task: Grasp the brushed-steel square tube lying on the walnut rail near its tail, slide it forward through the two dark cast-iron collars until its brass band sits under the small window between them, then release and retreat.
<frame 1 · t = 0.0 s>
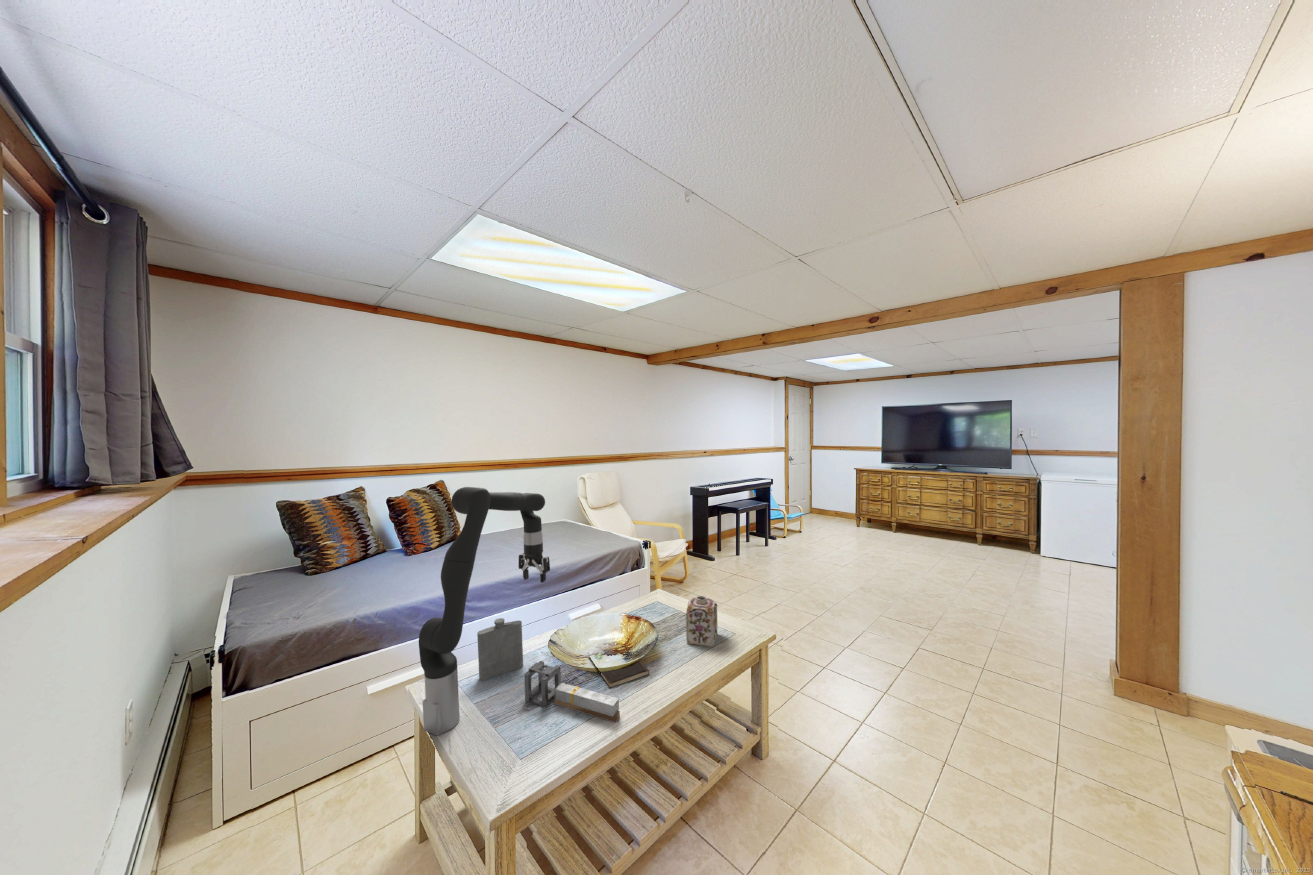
hand: (534, 580, 172), 29 cm above the table, fingers open, 8 cm apart
decorative jar: (702, 639, 180), on the table
square steel tube: (586, 704, 137), point 2 cm above the table, touching walnut rail
hardcover book: (617, 666, 162), on the table
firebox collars: (543, 697, 144), on the table
hip flask: (501, 672, 159), on the table
walnut rail: (586, 709, 137), on the table
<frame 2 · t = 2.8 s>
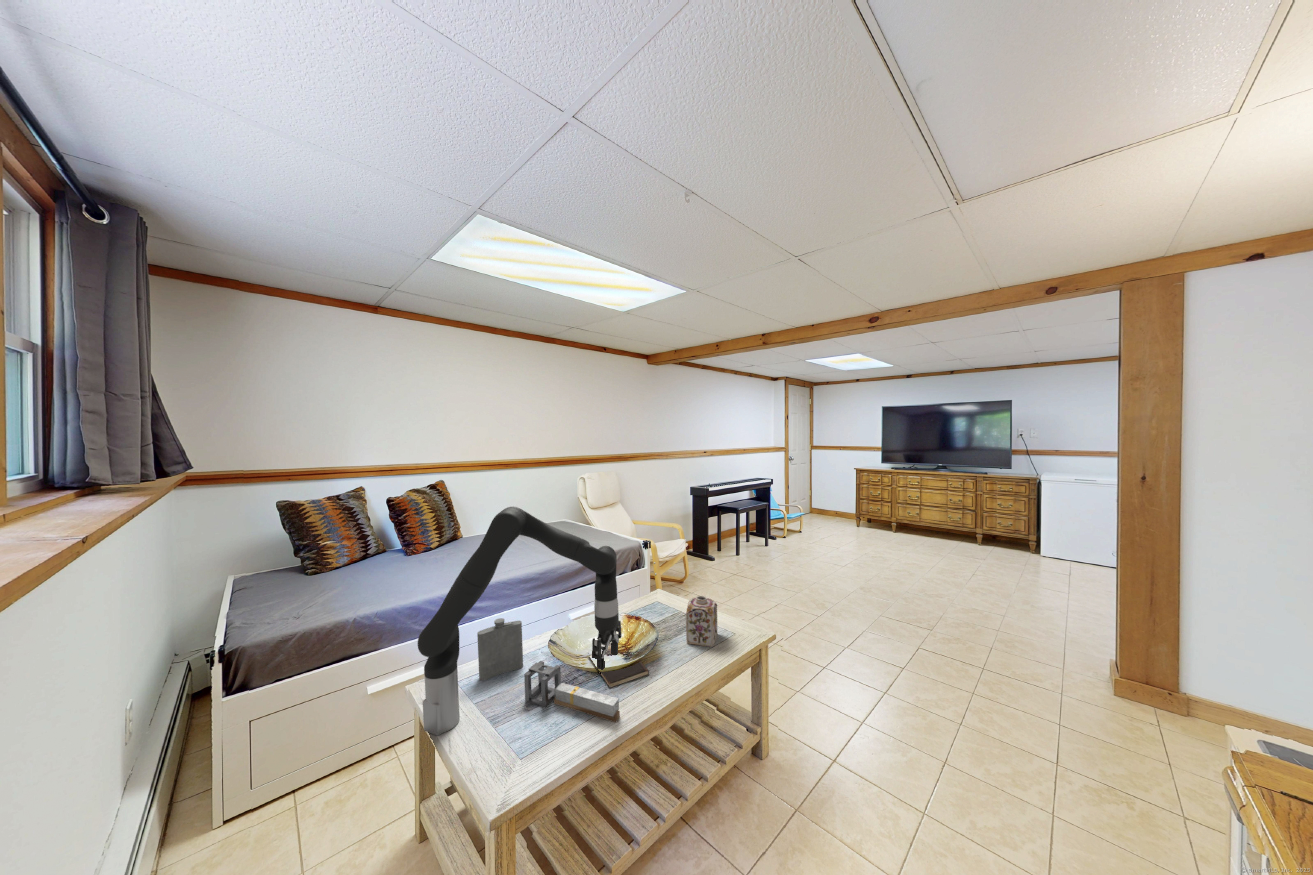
hand: (608, 661, 133), 18 cm above the table, fingers open, 8 cm apart
nothing on the table moved.
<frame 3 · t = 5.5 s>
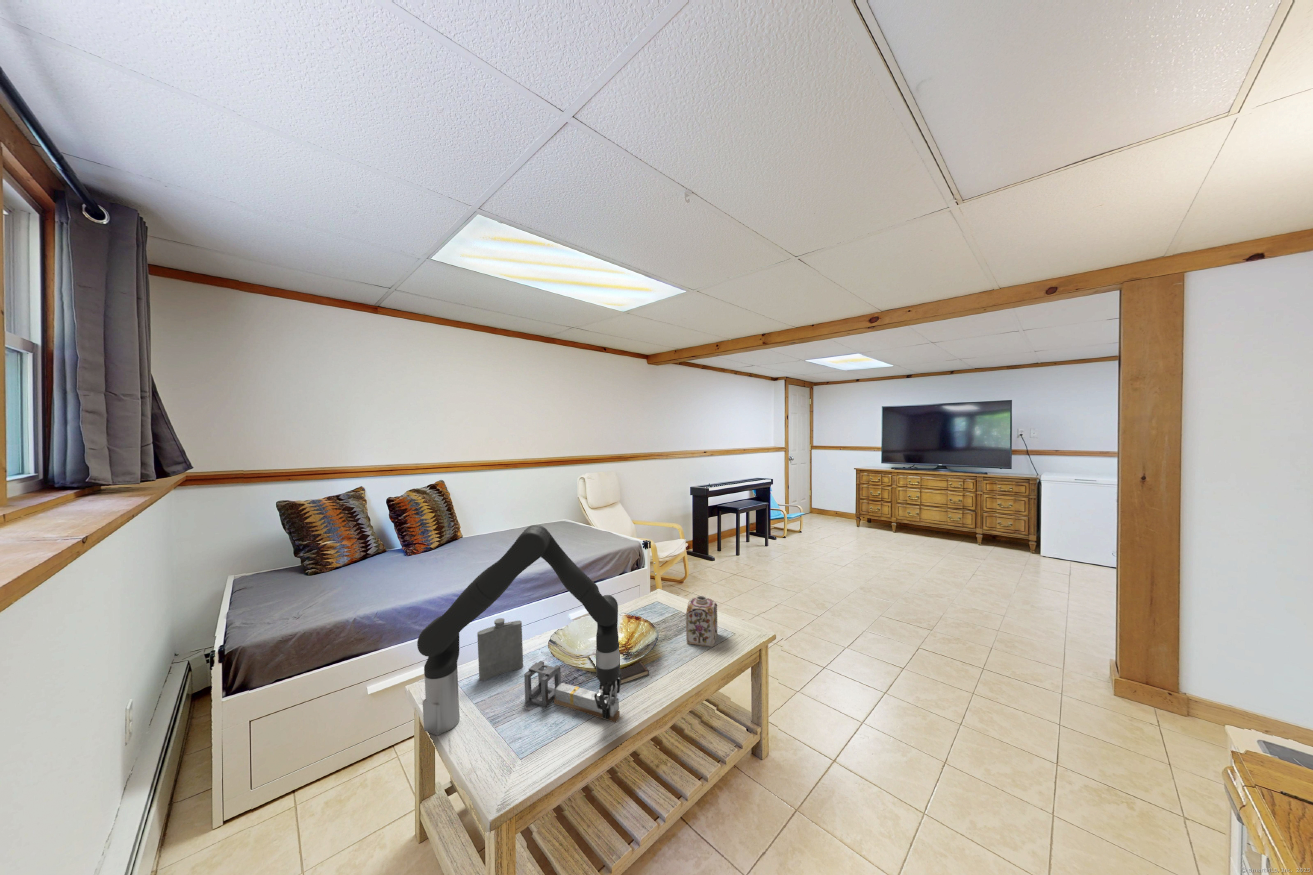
hand: (609, 713, 134), 1 cm above the table, fingers closed on square steel tube, 3 cm apart
square steel tube: (586, 704, 137), point 2 cm above the table, touching gripper, walnut rail
everything else where it was.
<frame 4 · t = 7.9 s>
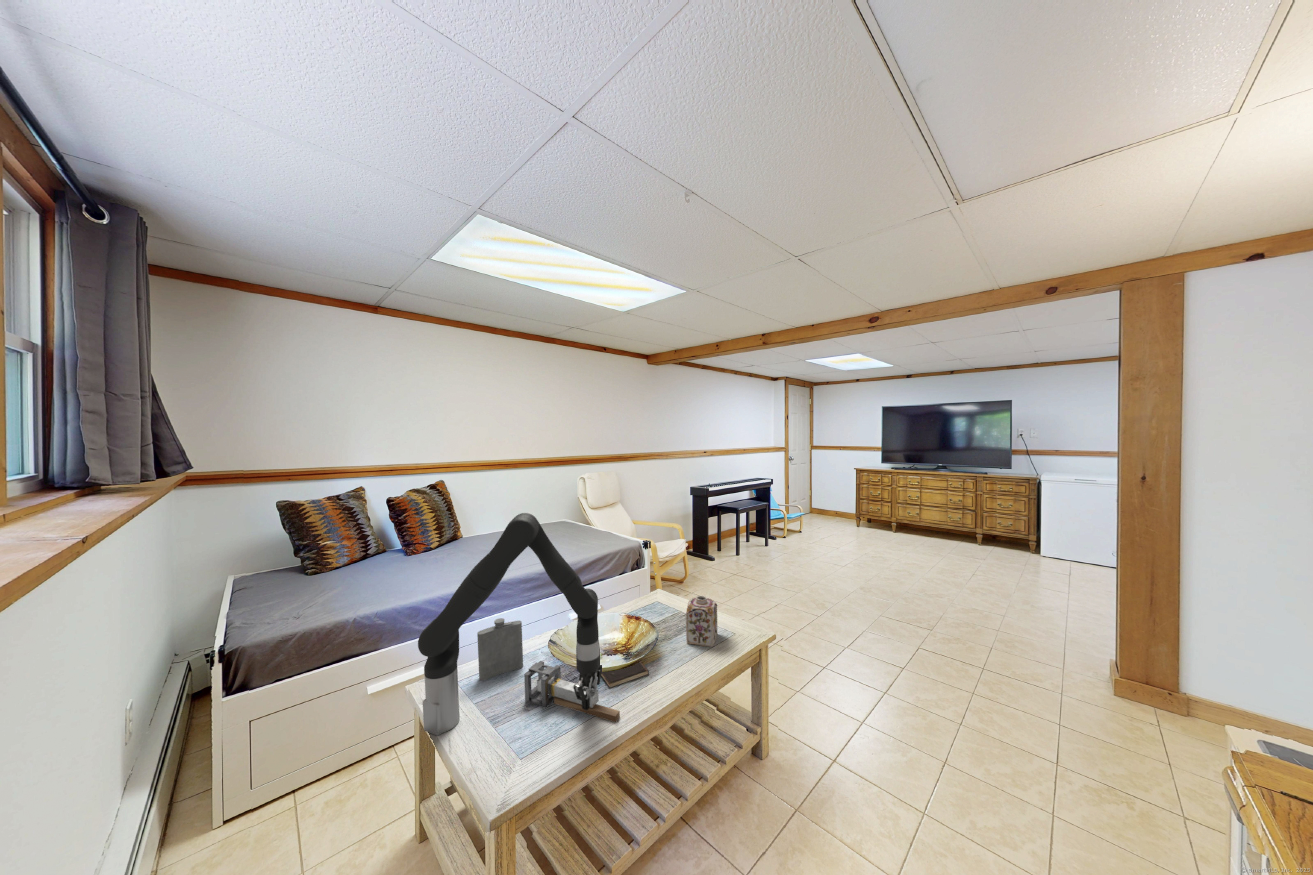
hand: (589, 704, 136), 2 cm above the table, fingers closed on square steel tube, 3 cm apart
square steel tube: (567, 695, 140), point 3 cm above the table, touching gripper
everything else where it was.
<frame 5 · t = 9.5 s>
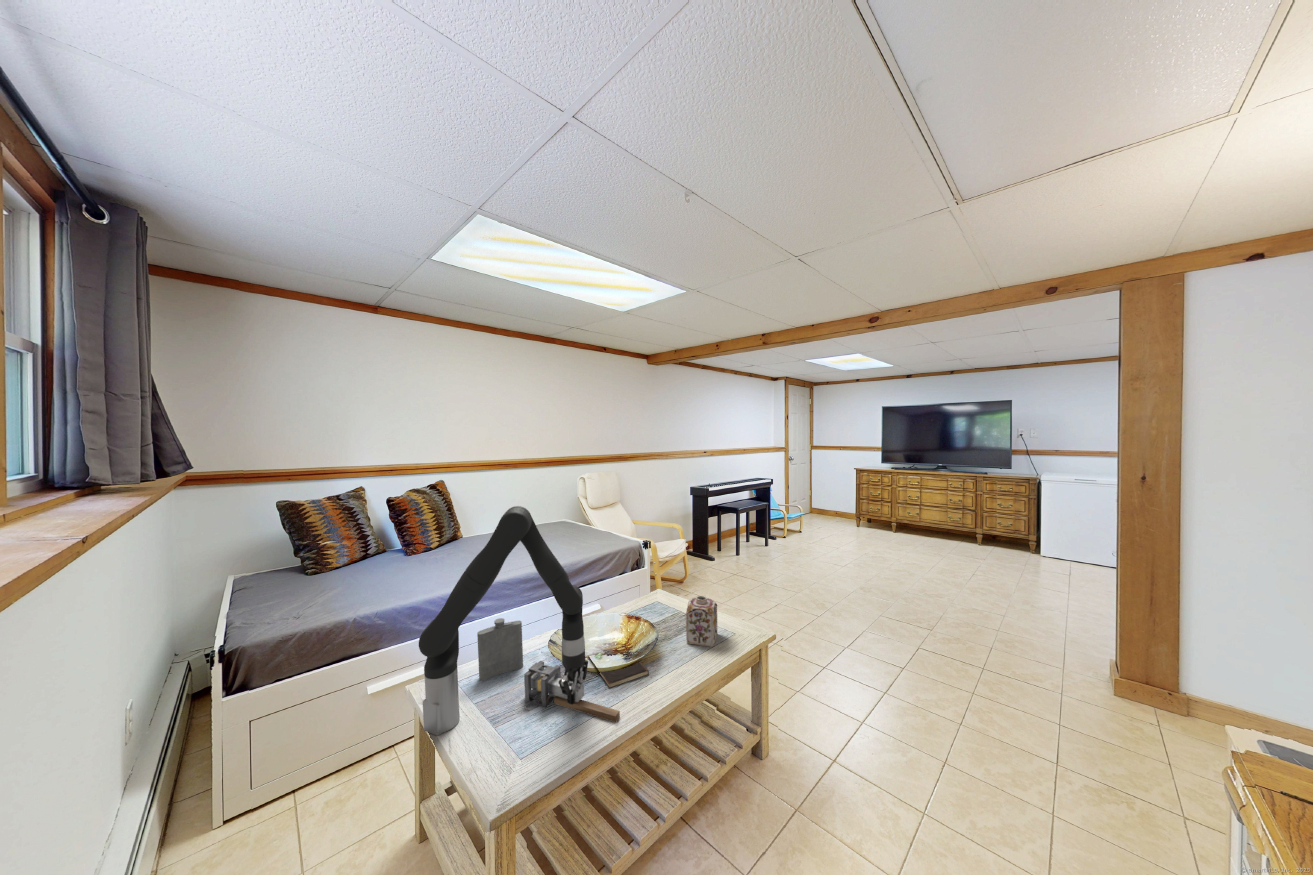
hand: (574, 699, 139), 3 cm above the table, fingers closed on square steel tube, 3 cm apart
square steel tube: (553, 690, 142), point 3 cm above the table, touching gripper
everything else where it was.
when the fingers open (1 cm above the table, at t = 10.7 s): square steel tube stays where it is, resting on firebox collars, walnut rail.
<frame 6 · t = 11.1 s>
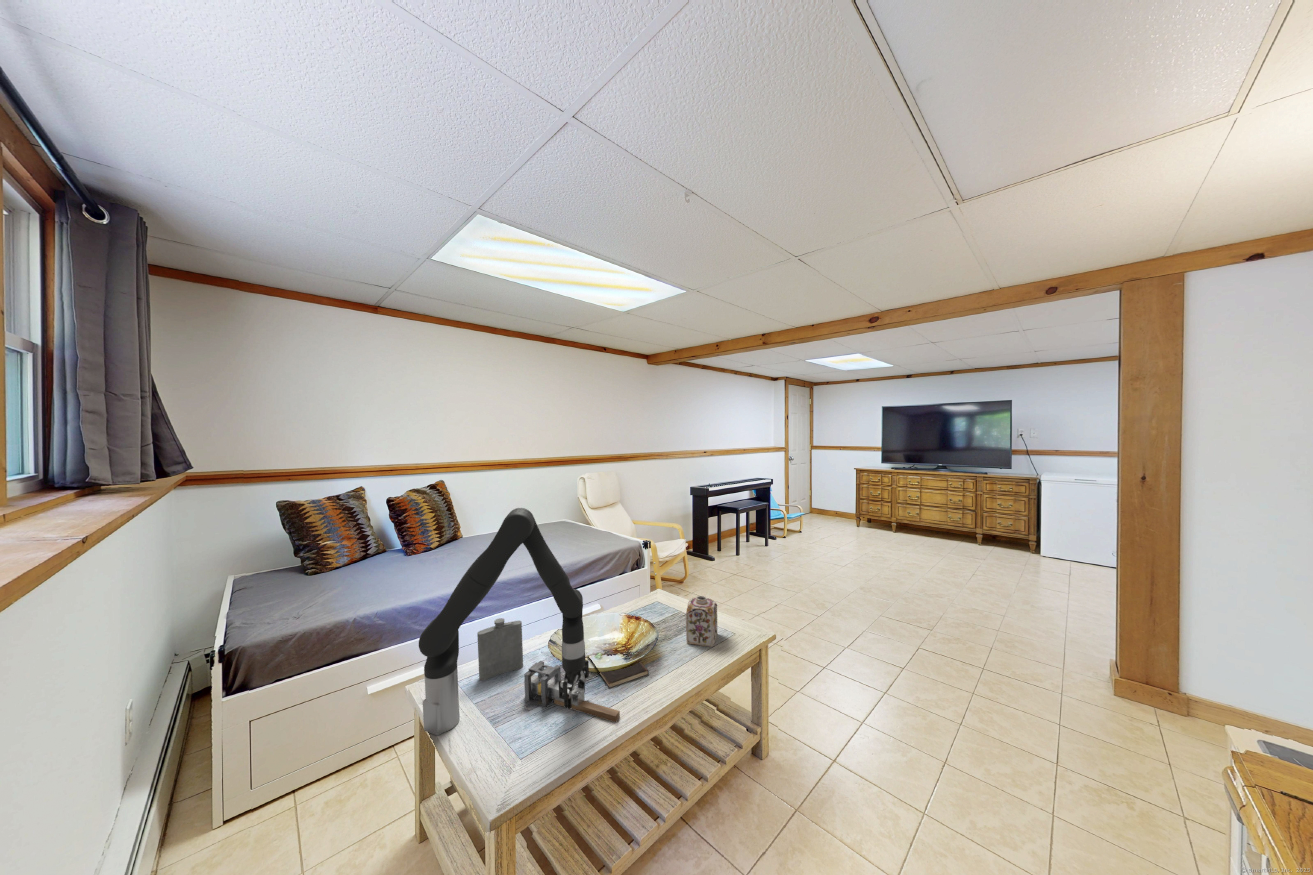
hand: (575, 700, 139), 2 cm above the table, fingers open, 7 cm apart
square steel tube: (554, 694, 142), point 2 cm above the table, touching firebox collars, walnut rail
everything else where it was.
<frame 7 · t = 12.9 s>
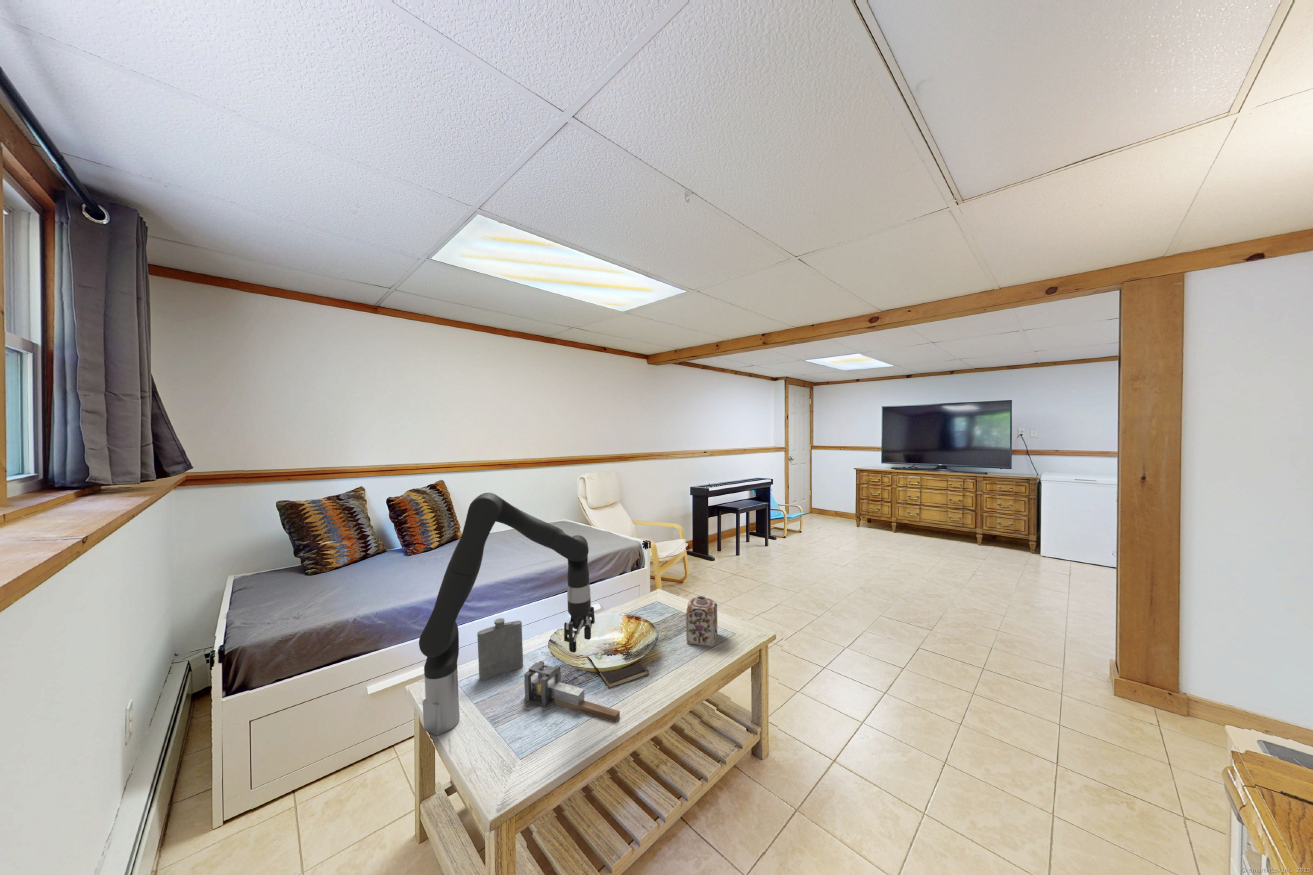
hand: (580, 644, 139), 20 cm above the table, fingers open, 8 cm apart
nothing on the table moved.
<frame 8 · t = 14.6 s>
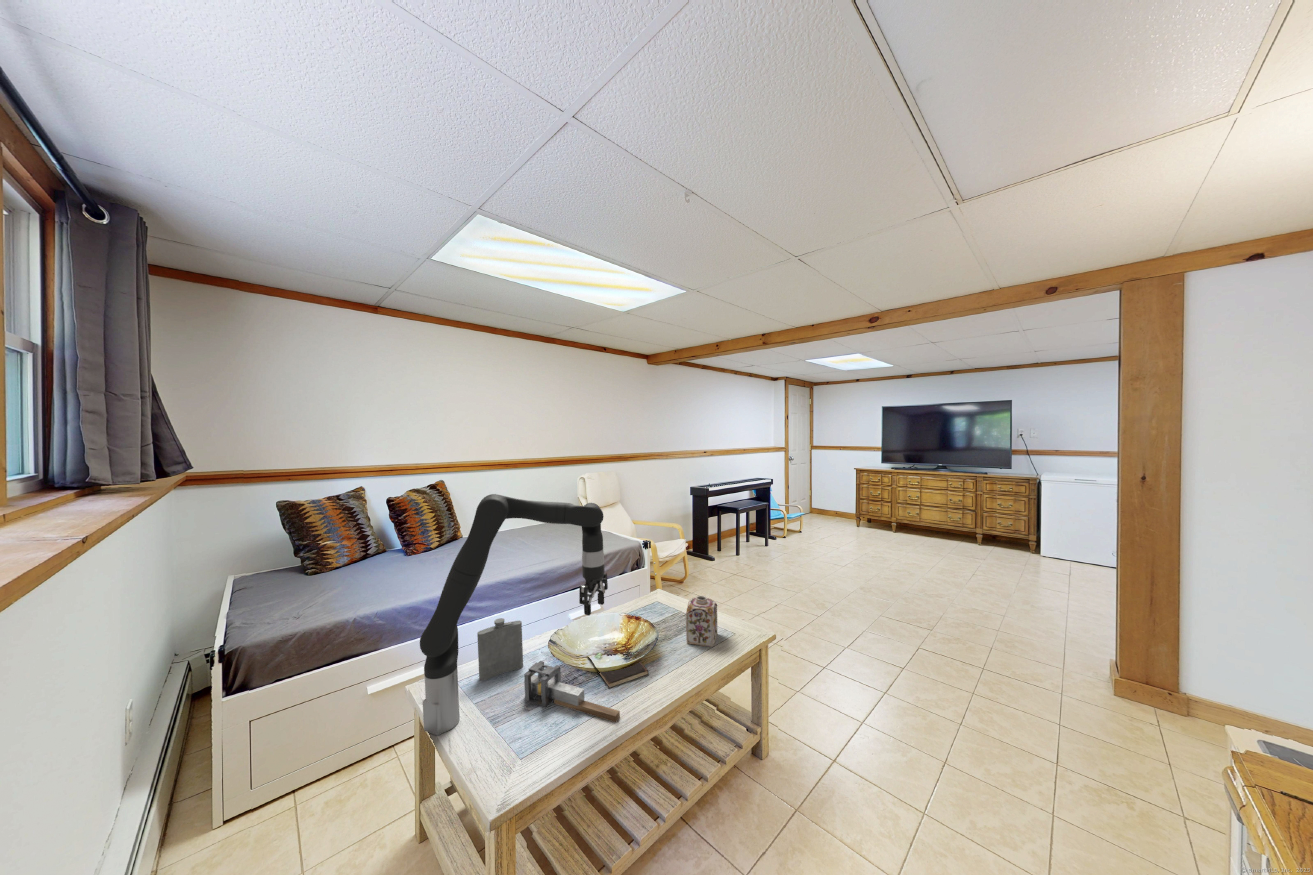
hand: (594, 609, 143), 30 cm above the table, fingers open, 8 cm apart
nothing on the table moved.
at the end: square steel tube 0.1 cm from the target spot, point 2.0 cm above the table; the gripper is holding nothing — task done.
